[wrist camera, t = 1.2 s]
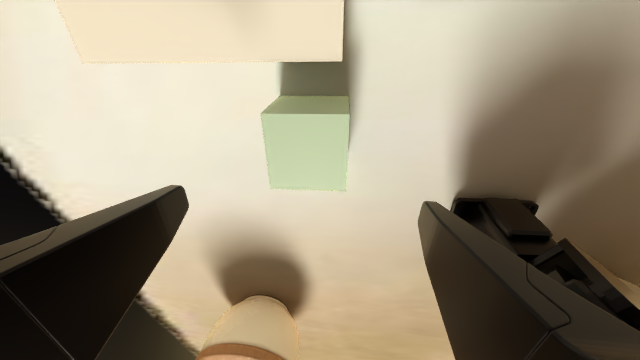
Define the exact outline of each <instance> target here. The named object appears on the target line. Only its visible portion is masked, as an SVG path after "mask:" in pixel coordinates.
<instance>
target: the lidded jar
mask: <svg viewBox="0 0 640 360" xmlns="http://www.w3.org/2000/svg"><path fill="white" fill-rule="evenodd" d="M299 354H300V343H299V334H298V330H297V326H296V324H295V322H294V320H293V318H292V316H291V315H290V314H289V312H288V309H287V307H286V306H285V305H284V304H283V303H282V302H280V301H279V300H277V299H275V298H272V297H269V296H263V295H255V296H250V297H248V298H246V299H245V300H244V301H242V302H239V303H238V304H236V305H234V306H232V307H231V308H230V309H228V310H227V311H226V312H225V313H224V314H223V315H222V316H221V317H220V319H219V320H218V321H217V323H216V324H215V326H214V327H213V329H212V330H211V332H210V334H209V335H208V337H207V339H206V341H205V343H204V345H203V347H202V350H201V352H200V353H199V354H198V356H197V358H196V360H299Z"/></svg>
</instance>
